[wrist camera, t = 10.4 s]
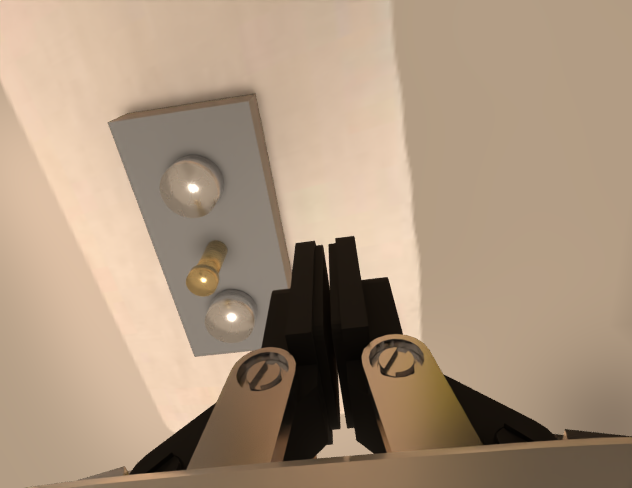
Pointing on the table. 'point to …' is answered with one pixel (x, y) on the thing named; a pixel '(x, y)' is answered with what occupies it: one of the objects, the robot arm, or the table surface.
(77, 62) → the table surface
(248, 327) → the knob
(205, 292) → the brass shaft
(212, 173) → the knob
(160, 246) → the mount
